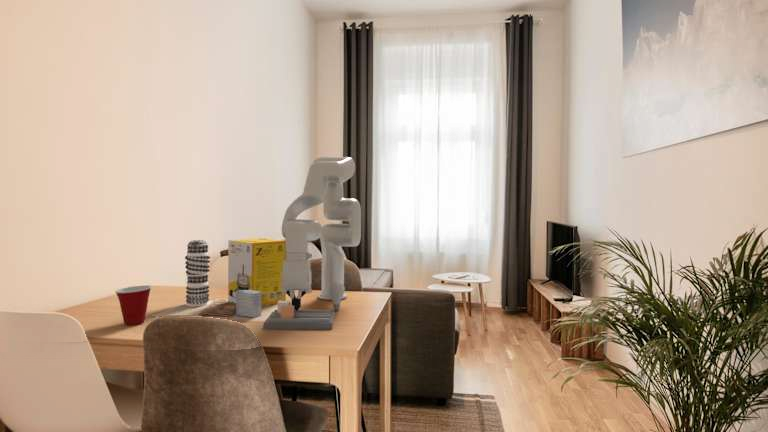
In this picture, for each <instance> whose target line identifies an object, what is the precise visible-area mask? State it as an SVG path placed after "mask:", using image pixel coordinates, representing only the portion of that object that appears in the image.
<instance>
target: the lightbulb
mask: <svg viewBox="0 0 768 432" xmlns="http://www.w3.org/2000/svg"><path fill="white" fill-rule="evenodd" d="M345 291H346V288H345V285H343V284H342V283H341V282H338V281H335V282H333V283H331V284H330V286H329V293H330V295H331V297H332V300H331V301H332V302H331V303H332V308H333V309H334V310H335V311H338V310H340V308H341V303H342V299H341V298H342V296H343V294H344V293H346V292H345ZM333 309H332V310H333Z"/></svg>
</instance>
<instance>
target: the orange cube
mask: <svg viewBox="0 0 768 432" xmlns="http://www.w3.org/2000/svg"><path fill="white" fill-rule="evenodd" d="M281 318H294V306H292V305H291V306H289V305H282V307H281Z"/></svg>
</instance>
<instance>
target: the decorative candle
mask: <svg viewBox="0 0 768 432" xmlns="http://www.w3.org/2000/svg"><path fill="white" fill-rule="evenodd" d="M209 245H210V244H209V243H207V241H206V240H204V239H202V240H201V239H198V240H197V239H196V240H190V241H189V242H188V244H186V246H187V249H186V250H187V251H186V256H184V259H185V260H186V261H185V269H186V270H185V275H186V276H187V279H186V280H187V282H186V287H185V289H186V291H185V293H186V295H185V298H186V299H185V305H186V306H187V307H192V308H193V307H194V308H195V307H196V306H197V307H204V306H203V305H205V306H207V304H208V305H210V293H209V292H210V286H209V275H210V271H211V270H210V269H209V268H210V267H211V266H210V265H209V264H210V263H211V261H210V260H209V259H210V258H211V256H210V255H209Z"/></svg>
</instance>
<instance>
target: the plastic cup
mask: <svg viewBox="0 0 768 432" xmlns="http://www.w3.org/2000/svg"><path fill="white" fill-rule="evenodd" d="M151 289H152V285H134V286H126V287H122V288H118V289H116V290H114V293H116V295H117V299H118V301H119V306H120V311H121V315H122V318H123V319H122V320H123V323H124V325H125V326H138V325H142V324H144V323H145V320H146V314H147V310H148V309H147V308H148V302H149V297H150V293H151Z"/></svg>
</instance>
